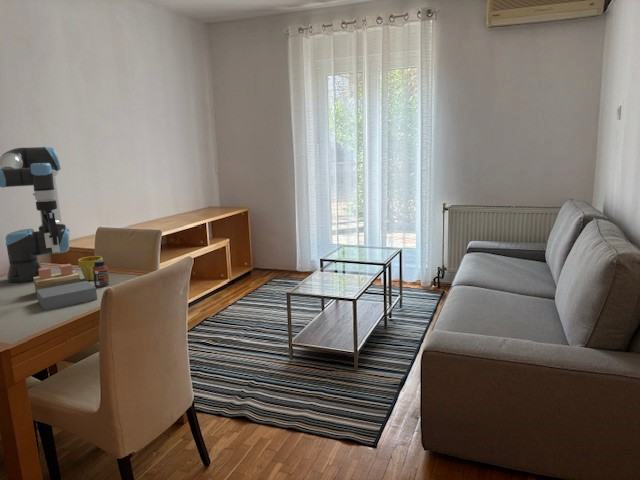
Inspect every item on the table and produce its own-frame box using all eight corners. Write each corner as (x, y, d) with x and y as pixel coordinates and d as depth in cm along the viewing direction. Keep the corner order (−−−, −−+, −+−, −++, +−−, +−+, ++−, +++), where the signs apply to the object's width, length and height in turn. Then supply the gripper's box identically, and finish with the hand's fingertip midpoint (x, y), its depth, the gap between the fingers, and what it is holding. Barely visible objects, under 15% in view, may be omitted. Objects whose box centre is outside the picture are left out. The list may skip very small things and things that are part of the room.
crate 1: (39, 277, 203) (38, 268, 202) (50, 276, 205) (48, 267, 204) (41, 279, 199) (39, 270, 199) (51, 277, 202) (50, 268, 201)
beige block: (35, 292, 205) (33, 277, 204) (76, 285, 215) (74, 270, 213) (39, 298, 197) (37, 282, 196) (81, 290, 207) (79, 274, 206)
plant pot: (95, 282, 219) (92, 261, 217) (75, 281, 221) (72, 260, 219) (109, 275, 229) (106, 256, 227) (90, 275, 231) (87, 255, 229)
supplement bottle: (99, 288, 208) (96, 263, 206) (91, 286, 211) (88, 261, 209) (112, 284, 213) (109, 260, 211) (104, 283, 216) (101, 259, 214)
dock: (38, 301, 192) (36, 290, 191) (88, 291, 204) (87, 280, 203) (44, 310, 181) (42, 298, 180) (97, 299, 193) (95, 287, 192)
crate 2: (61, 274, 208) (59, 265, 207) (71, 272, 210) (69, 263, 209) (62, 275, 205) (61, 266, 204) (73, 274, 207) (71, 265, 206)
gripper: (30, 199, 205) (37, 246, 210) (41, 203, 186) (48, 256, 191) (50, 197, 210) (56, 244, 214) (62, 201, 191) (69, 252, 195)
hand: (53, 249), depth 202 cm, fingers open, 13 cm apart
